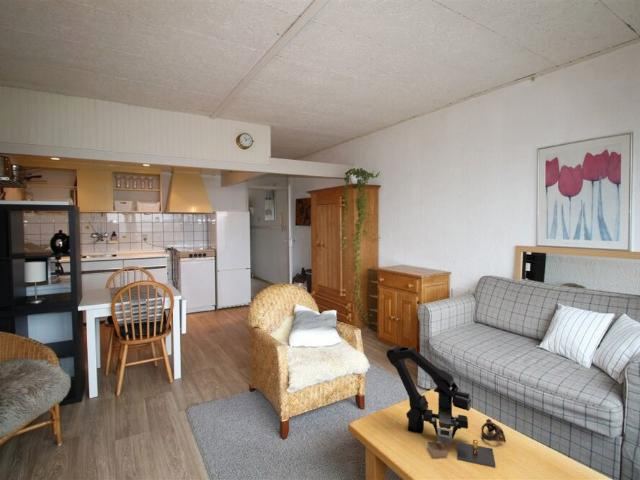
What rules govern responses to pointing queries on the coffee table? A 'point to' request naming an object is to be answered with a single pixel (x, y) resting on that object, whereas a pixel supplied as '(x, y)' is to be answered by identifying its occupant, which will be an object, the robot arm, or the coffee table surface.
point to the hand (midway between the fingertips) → (444, 436)
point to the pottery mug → (491, 428)
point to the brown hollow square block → (437, 449)
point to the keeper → (475, 454)
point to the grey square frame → (445, 436)
